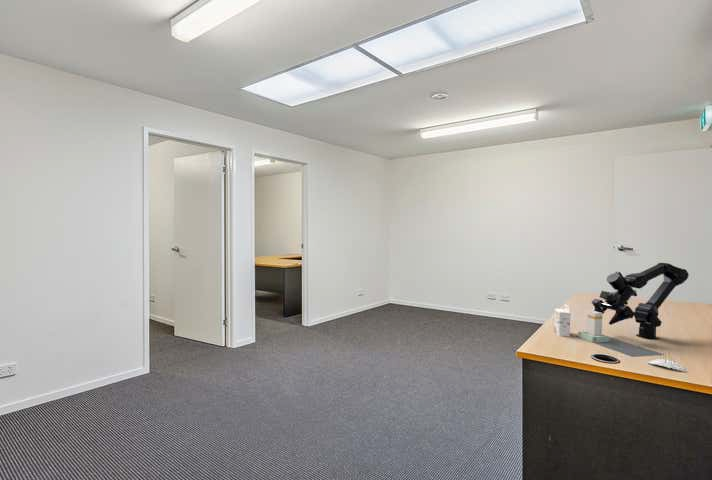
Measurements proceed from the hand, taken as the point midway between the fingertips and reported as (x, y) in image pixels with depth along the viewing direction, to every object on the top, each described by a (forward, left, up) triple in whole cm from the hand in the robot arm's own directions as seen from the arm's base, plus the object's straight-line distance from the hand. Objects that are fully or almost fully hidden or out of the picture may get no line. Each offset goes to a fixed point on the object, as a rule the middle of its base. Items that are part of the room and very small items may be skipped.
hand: (601, 321), depth 181 cm
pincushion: (+7, +36, -9) cm, 38 cm away
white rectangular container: (+4, 0, -8) cm, 9 cm away
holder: (+4, 0, -8) cm, 9 cm away
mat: (+1, +9, -8) cm, 12 cm away
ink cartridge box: (+12, -11, -9) cm, 18 cm away
